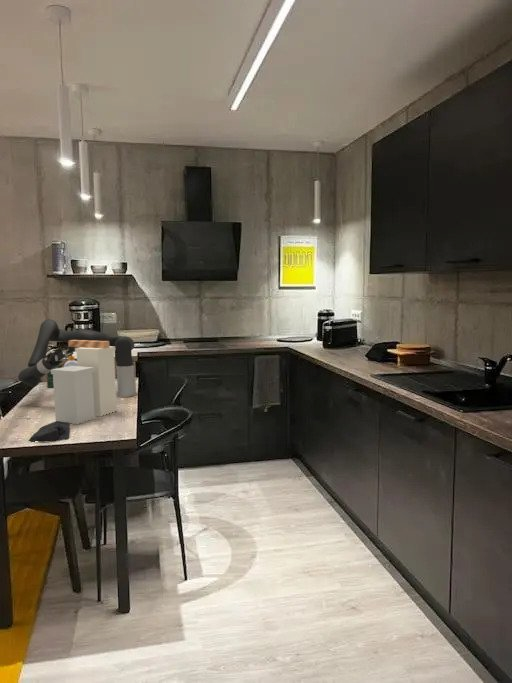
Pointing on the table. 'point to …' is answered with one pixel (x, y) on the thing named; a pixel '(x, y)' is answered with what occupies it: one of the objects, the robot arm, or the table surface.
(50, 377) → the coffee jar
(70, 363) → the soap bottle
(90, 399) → the block
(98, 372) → the stand
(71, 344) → the board
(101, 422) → the table surface
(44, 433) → the dark slate chunk
